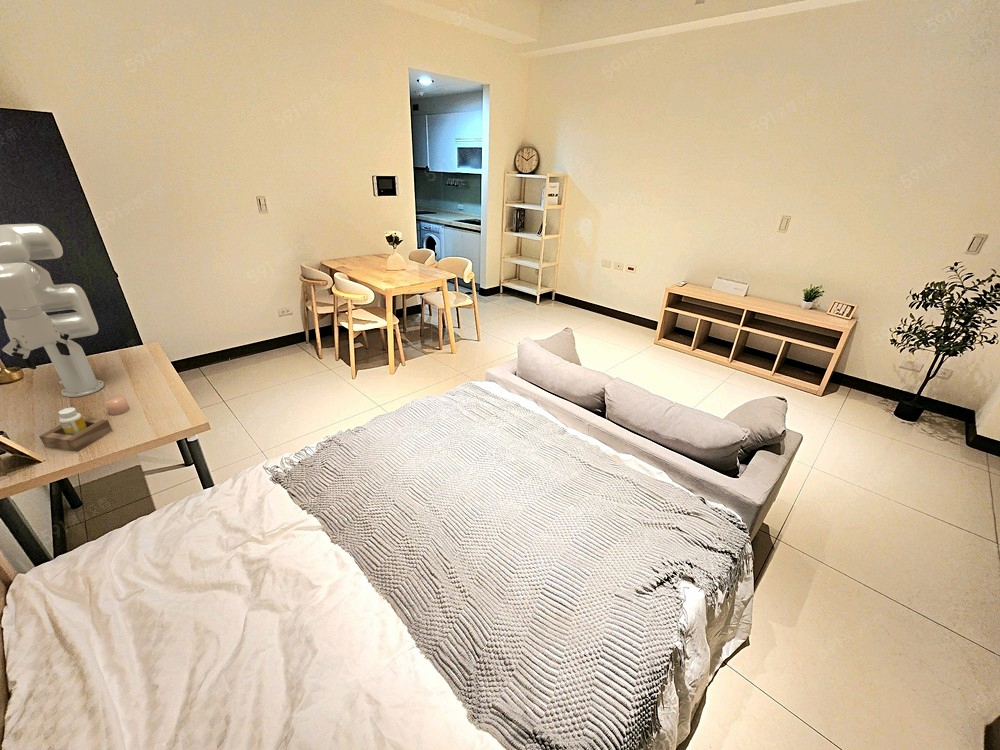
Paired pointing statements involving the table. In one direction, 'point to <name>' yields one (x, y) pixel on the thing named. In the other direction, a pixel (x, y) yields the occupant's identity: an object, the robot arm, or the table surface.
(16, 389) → the table surface
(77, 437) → the base block
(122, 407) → the peach rounded lump
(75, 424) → the supplement bottle
